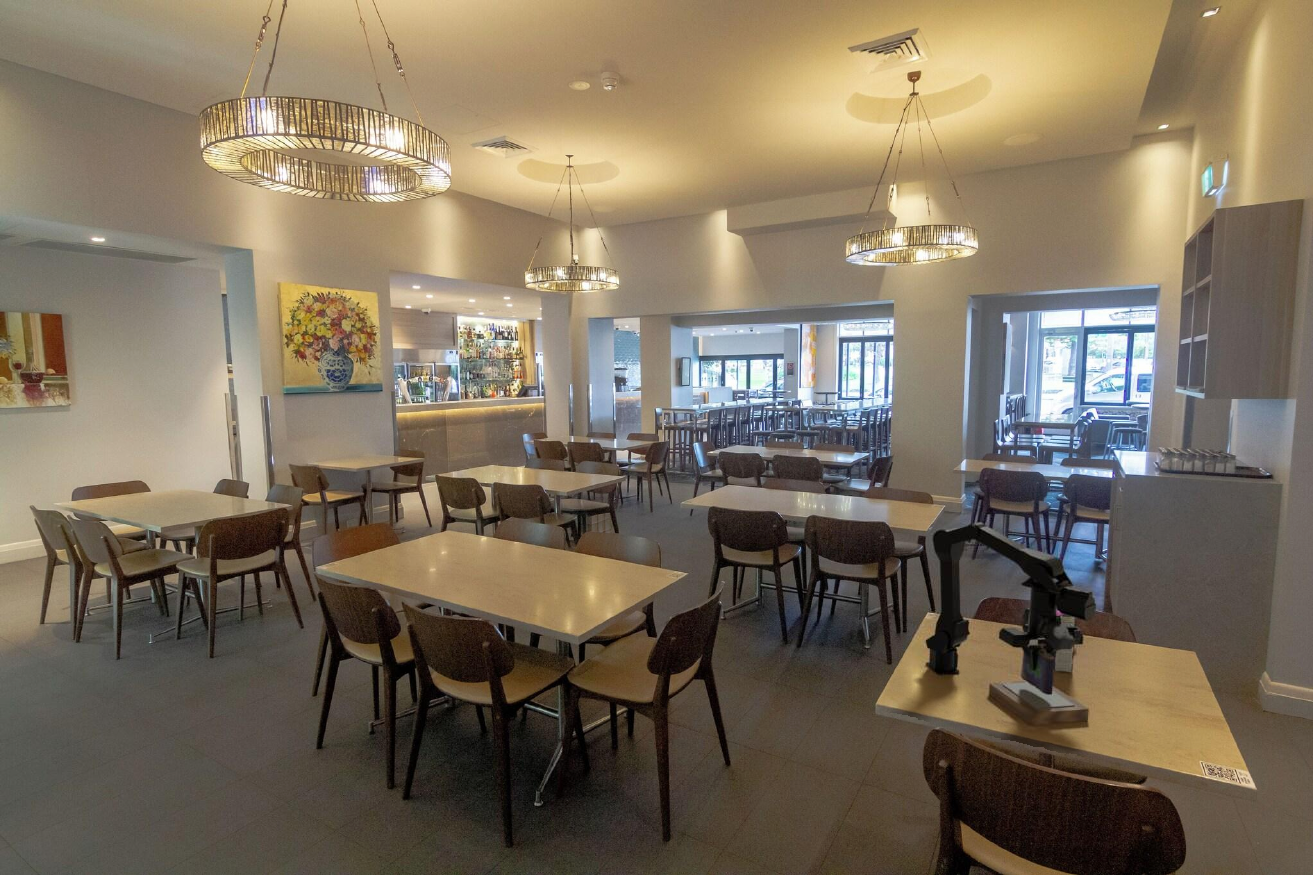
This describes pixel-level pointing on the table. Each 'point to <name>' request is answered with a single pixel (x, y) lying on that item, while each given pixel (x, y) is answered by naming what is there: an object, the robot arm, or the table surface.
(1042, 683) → the flask
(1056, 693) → the walnut plinth
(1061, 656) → the candy bar box
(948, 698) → the table surface
